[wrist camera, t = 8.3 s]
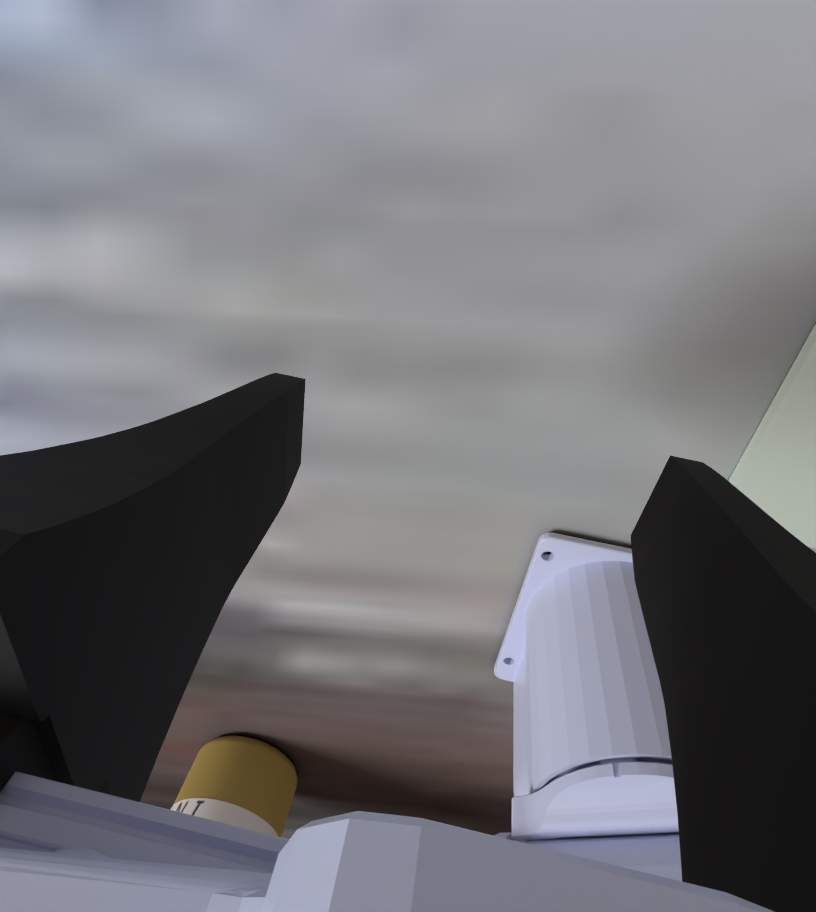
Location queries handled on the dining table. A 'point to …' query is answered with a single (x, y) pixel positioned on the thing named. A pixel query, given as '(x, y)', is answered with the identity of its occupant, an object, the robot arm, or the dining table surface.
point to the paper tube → (240, 785)
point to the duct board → (786, 452)
